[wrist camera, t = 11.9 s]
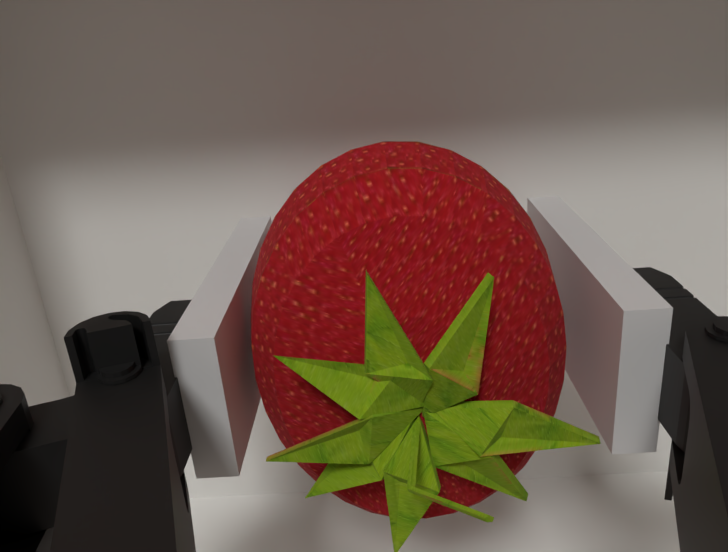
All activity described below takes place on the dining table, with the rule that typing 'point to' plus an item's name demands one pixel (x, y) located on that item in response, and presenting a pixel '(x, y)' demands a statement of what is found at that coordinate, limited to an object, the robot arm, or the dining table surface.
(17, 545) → the robot arm
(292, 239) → the strawberry
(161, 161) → the bin
